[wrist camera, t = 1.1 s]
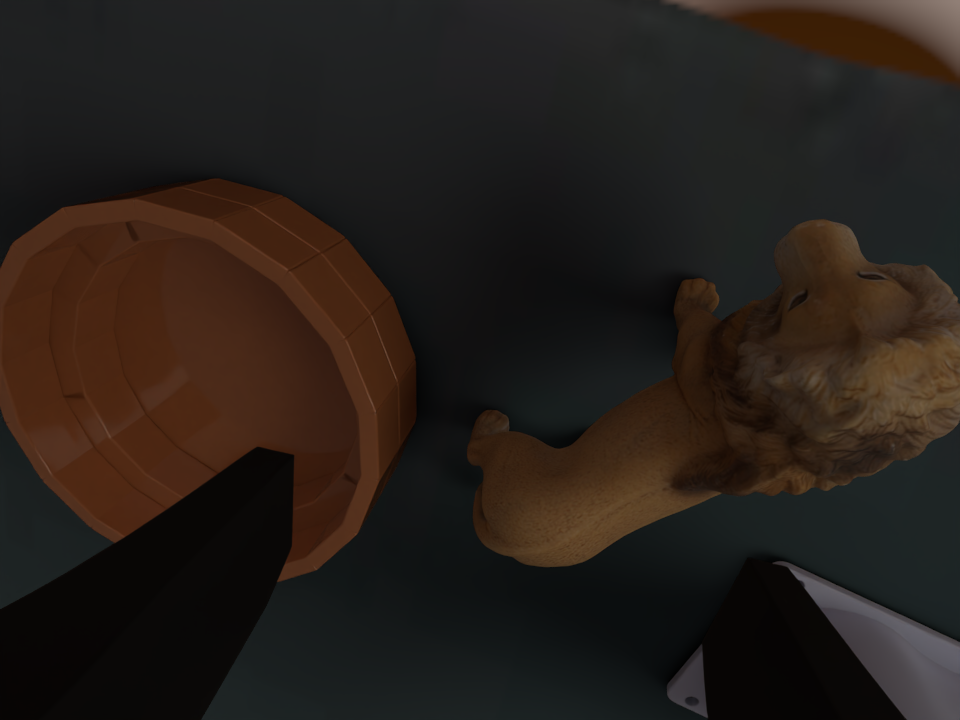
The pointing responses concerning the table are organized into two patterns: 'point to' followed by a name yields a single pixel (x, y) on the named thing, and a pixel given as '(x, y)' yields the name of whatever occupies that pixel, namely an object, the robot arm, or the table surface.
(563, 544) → the lion figurine
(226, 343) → the bowl
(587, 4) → the table surface
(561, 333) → the table surface
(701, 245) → the table surface
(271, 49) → the table surface
